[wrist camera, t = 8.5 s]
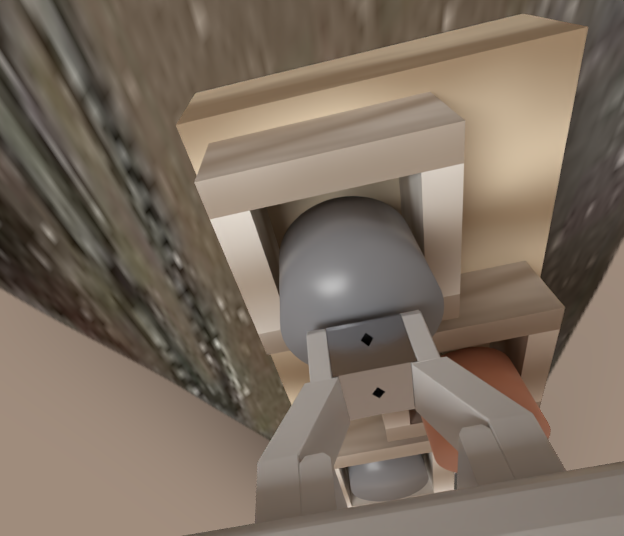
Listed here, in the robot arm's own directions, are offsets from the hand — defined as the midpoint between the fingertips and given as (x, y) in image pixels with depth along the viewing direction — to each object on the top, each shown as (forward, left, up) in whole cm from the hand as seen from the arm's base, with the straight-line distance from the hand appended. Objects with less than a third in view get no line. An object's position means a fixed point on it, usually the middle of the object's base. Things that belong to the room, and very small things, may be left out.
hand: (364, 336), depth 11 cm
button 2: (+16, 0, -6) cm, 17 cm away
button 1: (0, 0, -3) cm, 3 cm away
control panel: (+8, +2, -10) cm, 13 cm away
